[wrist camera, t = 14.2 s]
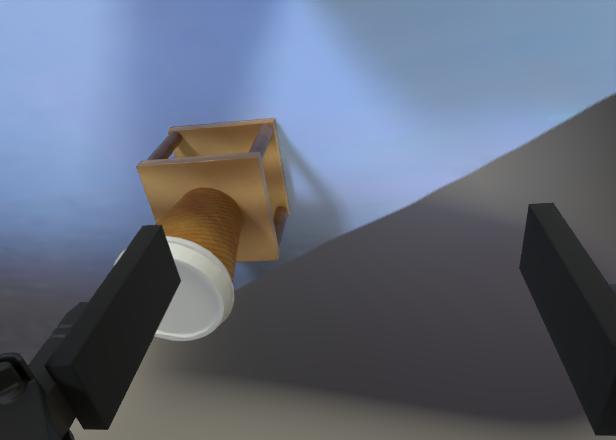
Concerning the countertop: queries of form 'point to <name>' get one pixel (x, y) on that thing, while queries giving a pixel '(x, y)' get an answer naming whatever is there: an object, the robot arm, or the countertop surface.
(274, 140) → the oak rack
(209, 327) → the disposable coffee cup
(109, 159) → the countertop surface
